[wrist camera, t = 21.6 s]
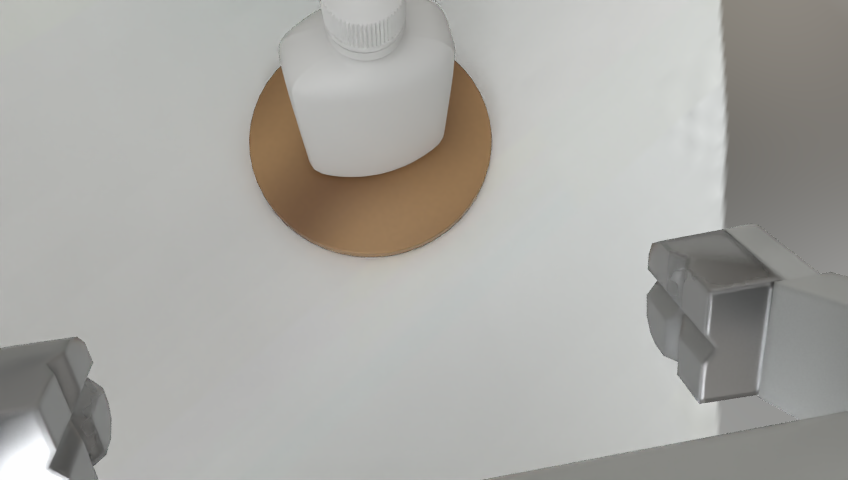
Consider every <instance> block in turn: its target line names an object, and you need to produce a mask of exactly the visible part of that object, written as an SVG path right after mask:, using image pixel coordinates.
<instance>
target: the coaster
mask: <svg viewBox="0 0 848 480" xmlns="http://www.w3.org/2000/svg"><path fill="white" fill-rule="evenodd" d="M249 144H250V157H251V162H252V168H253V171H254V174H255V177H256V180H257V183H258V185H259V187H260V189H261V191H262V193H263V195H264V197H265V198H266V200H267V202H268V203H269V204H270V206H271V207H272V209H273V210H274V212H275V213H276V214H277V215H278V216H279V217H280V218H281V219H282V221H283V222H284V223H285V224H286V225H287V226H289V227H290V228H291V229H292V230H294V231H295V232H296V233H297V234H299V235H300V236H302V237H303V238H305V239H307V240H308V241H310V242H312V243H314V244H316V245H318V246H320V247H323V248H325V249H328V250H331V251H334V252H337V253H341V254H346V255H352V256H361V257H379V256H390V255H395V254H399V253H404V252H407V251H410V250H413V249H416V248H419V247H421V246H423V245H425V244H427V243H429V242H431V241H433V240H435V239H436V238H438V237H439V236H441V235H442V234H444V233H445V232H446V231H448V230H449V229H450V228H451V227H452V226H453V225H455V224H456V223H457V222H458V221H459V220H460V219H461V218H462V216H463V215H464V214H465V213H466V212H467V211H468V209H469V208H470V206H471V205H472V203H473V202H474V200H475V199H476V197H477V195H478V193H479V191H480V189H481V187H482V184H483V182H484V179H485V176H486V173H487V169H488V166H489V161H490V155H491V127H490V120H489V116H488V113H487V109H486V106H485V103H484V101H483V99H482V96H481V94H480V92H479V90H478V89H477V87H476V85H475V84H474V82H473V80H472V79H471V78H470V76H469V75H468V74H467V73H466V71H465V70H464V69H463V68H462V67H461V66H460V65H459V64H458V63H457V62H456V61H455V60H454V70H453V78H452V85H451V92H450V99H449V105H448V112H447V118H446V125H445V131H444V136H443V138H442V140H441V142H440V143H439V144H438V145H437V146H436V147H435V148H434V149H433V150H431V151H430V152H429V153H427V154H426V155H424V156H423V157H421V158H419V159H418V160H416V161H414V162H412V163H410V164H408V165H406V166H404V167H401V168H399V169H396V170H393V171H390V172H386V173H382V174H378V175H372V176H363V177H339V176H331V175H326V174H322V173H320V172H318V171H316V170H315V169H314V168H313V167H312V165H311V164H310V162H309V158H308V155H307V152H306V149H305V146H304V143H303V140H302V136H301V133H300V130H299V127H298V124H297V120H296V117H295V114H294V111H293V107H292V104H291V101H290V97H289V94H288V90H287V87H286V83H285V79H284V75H283V72H282V68H281V66H280V67H279V68H278V69H277V70H276V72H275V73H274V74H273V76H272V77H271V78H270V80H269V81H268V82H267V84H266V86H265V87H264V89H263V91H262V93H261V95H260V96H259V99H258V102H257V104H256V107H255V109H254V113H253V117H252V121H251V127H250V137H249Z"/></svg>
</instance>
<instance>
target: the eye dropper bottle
mask: <svg viewBox="0 0 848 480" xmlns="http://www.w3.org/2000/svg"><path fill="white" fill-rule="evenodd" d="M320 4H321V9H319V10H318V11H316V12H314V13H313V14H311V15H309V16H308V17H306V18H305V19H303V20H302V21H301V22H299V23H298V24H297V25H296V26H294V27H293V28H292V29H291V30H290V31H289V32H287V33H286V34H285V36H284V37H283V39H282V40H281V42H280V45H279V58H280V63H281V68H282V72H283V75H284V79H285V83H286V87H287V90H288V94H289V97H290V101H291V104H292V107H293V111H294V114H295V117H296V120H297V124H298V127H299V130H300V133H301V136H302V140H303V143H304V146H305V149H306V152H307V155H308V158H309V162H310V164H311V165H312V167H313V168H314V169H315V170H316V171H318V172H320V173H322V174H326V175H331V176H339V177H363V176H372V175H378V174H382V173H386V172H390V171H393V170H396V169H399V168H401V167H404V166H406V165H408V164H410V163H412V162H414V161H416V160H418V159H419V158H421V157H423V156H424V155H426V154H427V153H429V152H430V151H431V150H433V149H434V148H435V147H436V146H437V145H438V144H439V143H440V142H441V140H442V138H443V136H444V131H445V125H446V118H447V112H448V105H449V99H450V92H451V85H452V78H453V70H454V60H455V47H454V42H453V38H452V35H451V31H450V28H449V25H448V22H447V20H446V17H445V15H444V12H443V11H442V9H441V8H440V7H439V6H438V5H437V4H435V3H433V2H431V1H429V0H320Z"/></svg>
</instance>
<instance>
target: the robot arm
mask: <svg viewBox="0 0 848 480" xmlns="http://www.w3.org/2000/svg"><path fill="white" fill-rule="evenodd" d="M648 270H649V271H650V272H651V273H652V275H653V276H654V277H655V278H656V279H657V282H656V283H655V285H654V286H653V287H652V289H651V290H650V291H649V293H648V294H647V319H648V324H649V328H650V333H651V335H652V337H653V340H654V342H655V344H656V346H657V347H658V349H659V350H660V351H661V353H662V354H663V356H666V357H668V358H670V359H673V360H675V361H677V362H678V370H677V375H678V376H679V377H680V379H681V380H682V381H683V383H684V384H685V385H686V387H687V388H688V389H689V391H690V392H691V393H692V395H693V396H694V397H695V399H696V400H697V401H698V403H699V404H702V403H708V402H714V401H721V400H727V399H733V398H740V397H746V396H753V395H759V396H758V397H759V398H760V399H762V400H764V401H766V402H768V403H770V404H771V405H773V406H775V407H777V408H779V409H780V410H782V411H784V412H786V413H788V414H789V415H791V416H793V417H795V418H797V419H798V420H796V421H791V422H786V423H781V424H775V425H770V426H765V427H759V428H754V429H749V430H744V431H738V432H733V433H727V434H722V435H717V436H711V437H706V438H701V439H695V440H690V441H685V442H680V443H674V444H669V445H664V446H658V447H653V448H648V449H642V450H637V451H632V452H627V453H621V454H616V455H611V456H605V457H600V458H595V459H590V460H584V461H579V462H574V463H568V464H563V465H558V466H552V467H547V468H542V469H537V470H531V471H526V472H521V473H515V474H510V475H505V476H499V477H494V478H489V479H484V480H848V277H847V276H843V275H840V274H836V273H832V272H829V273H823V274H820V273H819V272H817V271H816V270H815V269H814V268H812V267H811V266H810V265H808V264H807V263H806V262H805V261H804V260H802V259H801V258H800V257H799V256H797V255H796V254H795V253H793V252H792V251H791V250H790V249H788V248H787V247H786V246H784V245H783V244H782V243H781V242H779V241H778V240H777V239H776V238H774V237H773V236H772V235H770V234H769V233H768V232H767V231H765V230H764V229H763V228H761V227H760V226H759V225H754V224H747V225H742V226H737V227H732V228H727V229H722V230H717V231H712V232H706V233H701V234H696V235H691V236H685V237H680V238H675V239H670V240H664V241H659V242H656V243H652V246H651V249H650V252H649V260H648ZM92 364H93V361H92V358H91V356H90V354H89V351H88V349H87V347H86V344H85V342H83V341H82V340H81V339H79V338H78V337H71V338H64V339H57V340H51V341H44V342H37V343H30V344H23V345H16V346H9V347H4V348H0V480H98V477H97V475H96V472H95V470H94V467H93V466H94V465H95V464H96V463H97V462H99V461H100V460H101V459H102V458H103V457H104V456H105V455H106V454H107V450H108V447H109V444H110V440H111V414H110V408H109V403H108V400H107V397H106V395H105V392H104V389H103V388H102V387H101V386H99V385H98V384H96V383H95V382H93V381H92V380H90V379H89V378H87V376H88V374H89V371H90V369H91V366H92Z"/></svg>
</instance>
